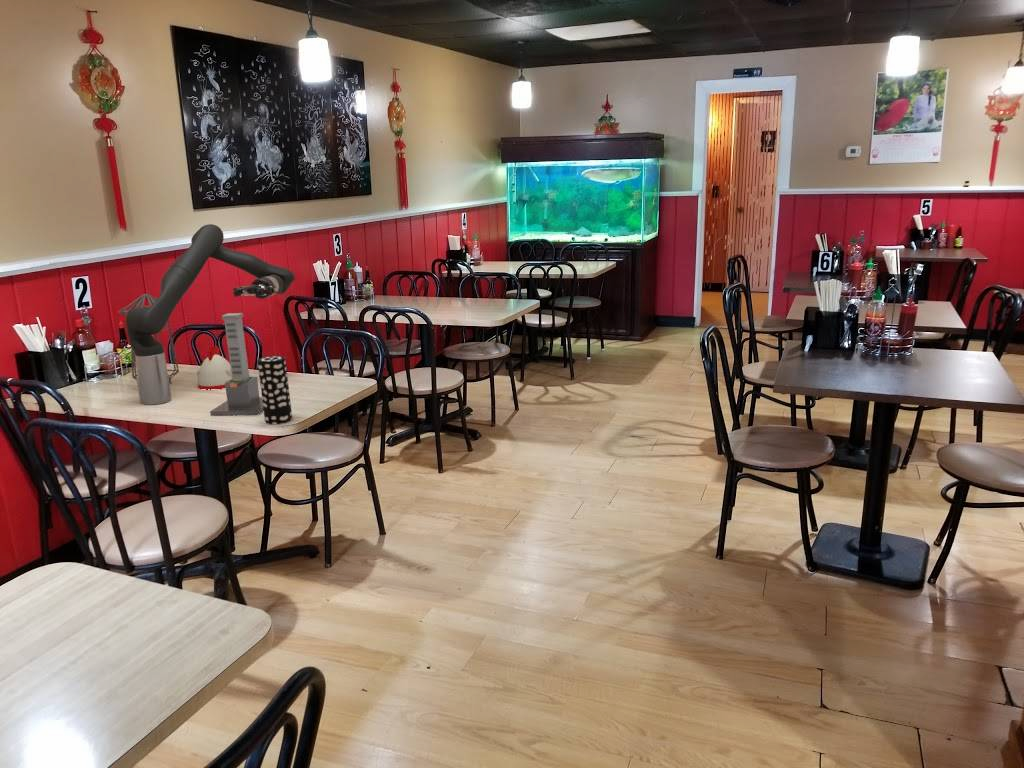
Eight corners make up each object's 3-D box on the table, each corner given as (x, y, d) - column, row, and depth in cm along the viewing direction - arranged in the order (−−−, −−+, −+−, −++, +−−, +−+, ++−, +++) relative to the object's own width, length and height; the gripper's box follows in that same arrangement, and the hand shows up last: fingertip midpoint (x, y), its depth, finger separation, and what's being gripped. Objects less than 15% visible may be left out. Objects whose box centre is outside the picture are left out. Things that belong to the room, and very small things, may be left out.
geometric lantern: (147, 381, 296) (135, 291, 287) (187, 381, 295) (176, 291, 286) (126, 391, 280) (113, 297, 272) (168, 391, 280) (156, 297, 271)
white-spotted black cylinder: (270, 416, 244) (262, 356, 239) (295, 416, 244) (288, 355, 239) (261, 424, 236) (253, 362, 231) (287, 424, 236) (280, 361, 231)
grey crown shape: (243, 380, 292) (238, 342, 288) (227, 390, 278) (222, 350, 275) (209, 380, 293) (203, 342, 289) (191, 390, 280) (185, 350, 276)
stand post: (230, 385, 250) (221, 315, 244) (237, 381, 255) (227, 313, 249) (246, 385, 250) (236, 315, 244) (251, 381, 254) (243, 313, 248)
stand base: (210, 415, 248) (206, 386, 245) (232, 401, 263) (228, 373, 260) (257, 415, 246) (254, 385, 243) (277, 401, 261) (273, 373, 259)
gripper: (245, 277, 285) (226, 283, 270) (282, 276, 284) (264, 282, 268) (248, 297, 287) (228, 304, 272) (284, 296, 286) (267, 303, 270)
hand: (246, 293), depth 270 cm, fingers open, 8 cm apart
